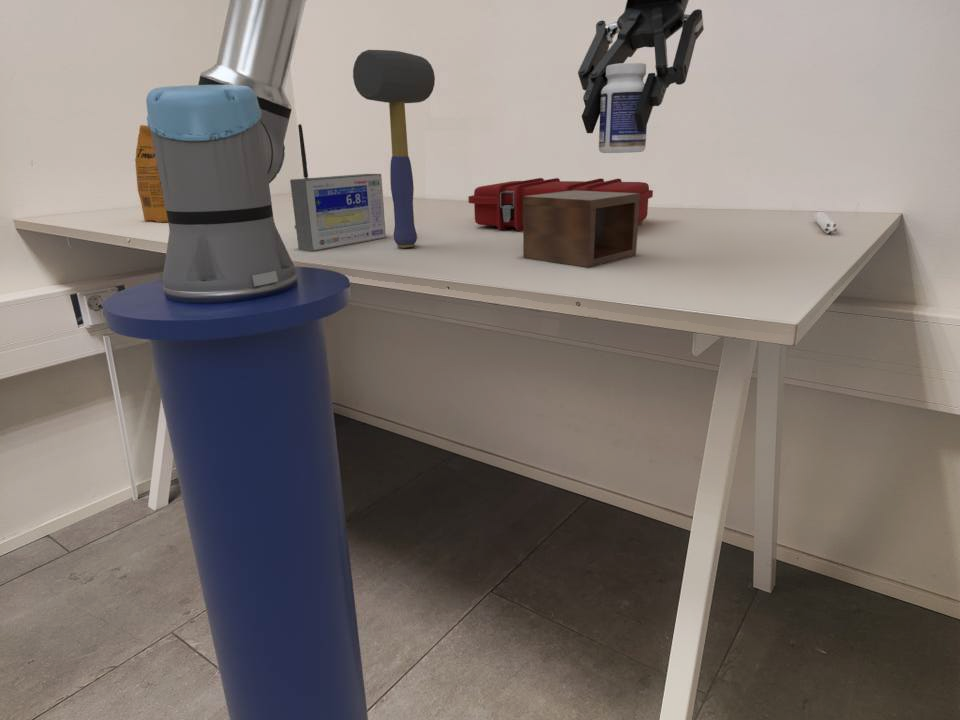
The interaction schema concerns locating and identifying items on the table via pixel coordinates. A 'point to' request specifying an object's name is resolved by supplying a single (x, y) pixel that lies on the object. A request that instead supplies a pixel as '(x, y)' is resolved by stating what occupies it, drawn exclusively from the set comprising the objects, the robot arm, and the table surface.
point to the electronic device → (336, 208)
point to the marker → (825, 222)
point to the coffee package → (149, 178)
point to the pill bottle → (621, 109)
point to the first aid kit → (506, 199)
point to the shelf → (580, 227)
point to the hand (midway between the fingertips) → (612, 123)
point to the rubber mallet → (396, 120)
